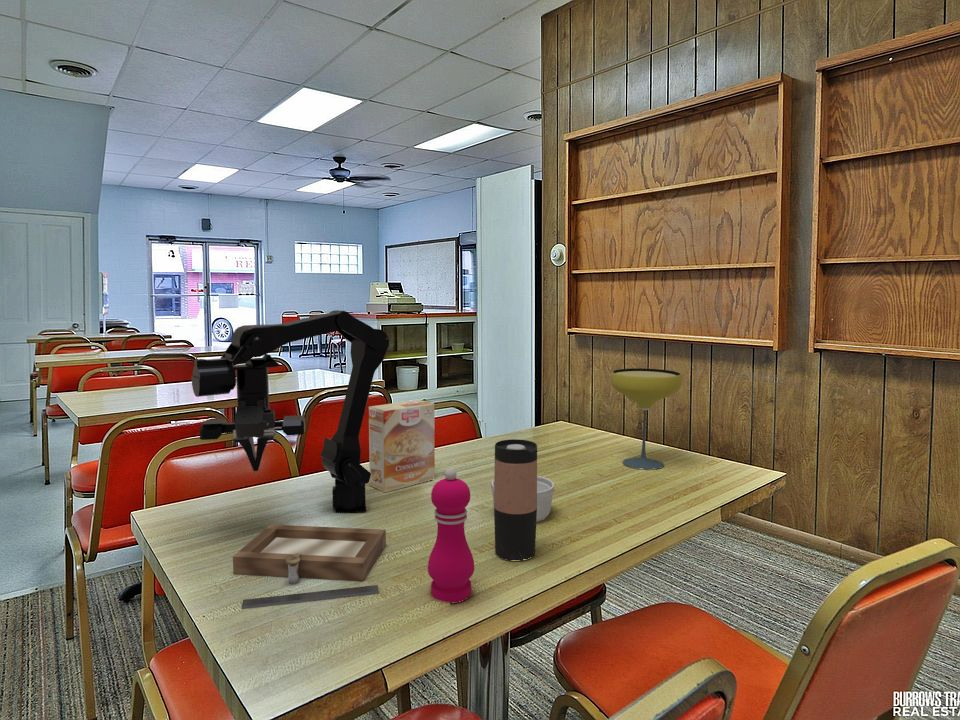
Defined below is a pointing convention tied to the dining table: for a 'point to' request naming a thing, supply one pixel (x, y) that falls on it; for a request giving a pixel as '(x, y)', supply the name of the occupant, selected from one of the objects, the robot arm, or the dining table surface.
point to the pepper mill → (450, 541)
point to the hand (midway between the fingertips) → (256, 470)
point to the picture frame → (311, 552)
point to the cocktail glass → (645, 398)
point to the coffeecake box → (401, 444)
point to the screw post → (293, 573)
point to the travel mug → (515, 498)
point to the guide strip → (309, 596)
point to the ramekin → (540, 496)
